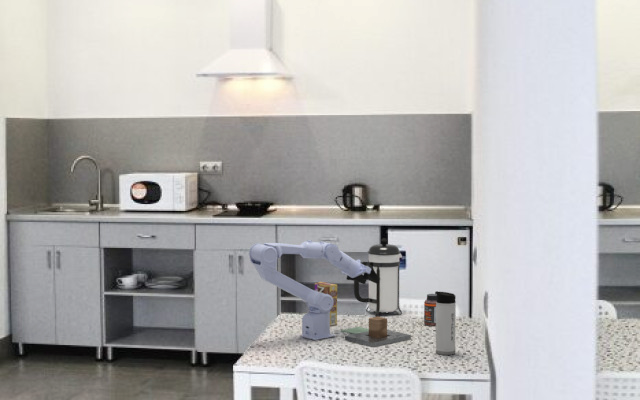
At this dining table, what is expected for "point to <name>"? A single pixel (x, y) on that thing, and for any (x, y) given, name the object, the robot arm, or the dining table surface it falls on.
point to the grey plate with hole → (373, 342)
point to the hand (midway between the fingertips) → (372, 281)
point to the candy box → (332, 290)
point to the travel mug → (445, 323)
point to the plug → (378, 327)
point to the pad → (355, 330)
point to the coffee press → (382, 279)
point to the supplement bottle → (430, 310)
